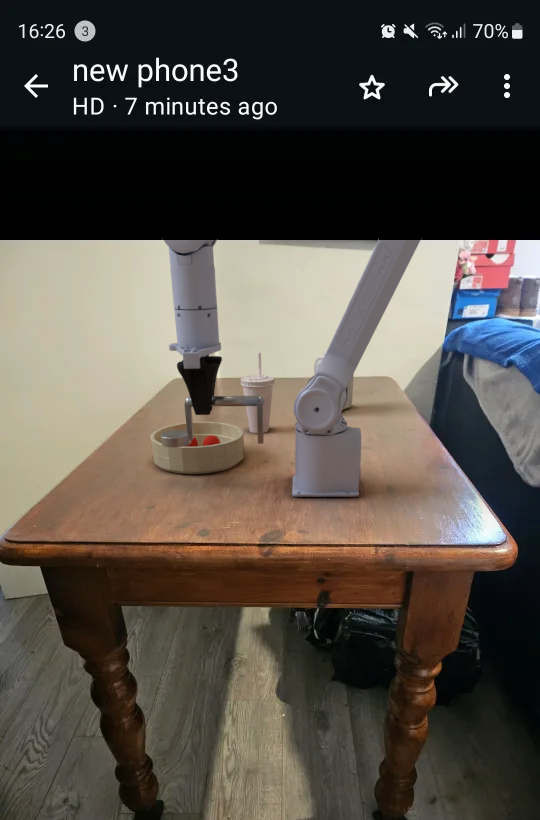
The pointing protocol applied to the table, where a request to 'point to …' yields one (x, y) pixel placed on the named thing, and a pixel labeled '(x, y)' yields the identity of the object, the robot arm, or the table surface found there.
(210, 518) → the table surface
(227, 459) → the bowl
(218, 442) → the tomato
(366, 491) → the table surface
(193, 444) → the tomato
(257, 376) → the smoothie
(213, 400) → the bent metal rod stand
